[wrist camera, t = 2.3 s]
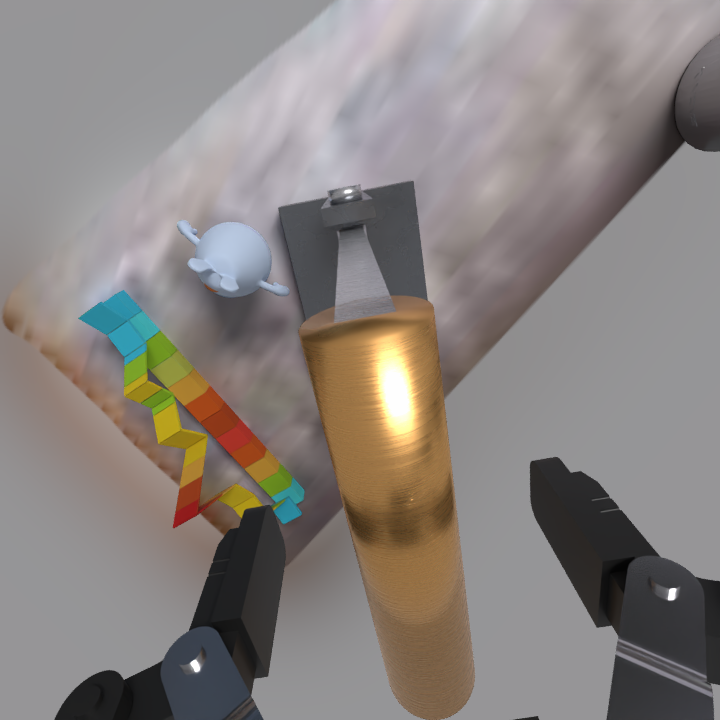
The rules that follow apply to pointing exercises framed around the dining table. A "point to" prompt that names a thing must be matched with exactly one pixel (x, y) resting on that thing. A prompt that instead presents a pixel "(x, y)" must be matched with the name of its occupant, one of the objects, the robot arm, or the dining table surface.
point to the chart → (200, 403)
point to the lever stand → (384, 232)
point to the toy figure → (231, 259)
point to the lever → (395, 475)
